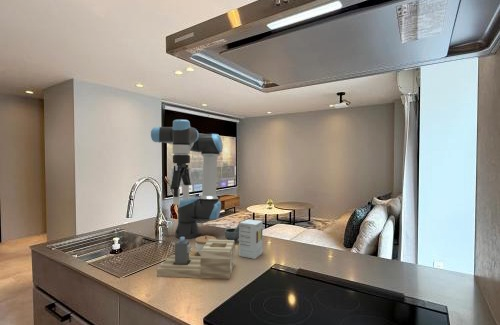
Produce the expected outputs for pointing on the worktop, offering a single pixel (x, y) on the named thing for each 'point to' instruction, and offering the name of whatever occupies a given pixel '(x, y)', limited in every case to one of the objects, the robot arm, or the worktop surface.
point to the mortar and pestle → (232, 234)
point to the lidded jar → (202, 242)
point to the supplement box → (250, 238)
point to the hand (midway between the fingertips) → (181, 201)
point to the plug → (182, 252)
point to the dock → (204, 262)
